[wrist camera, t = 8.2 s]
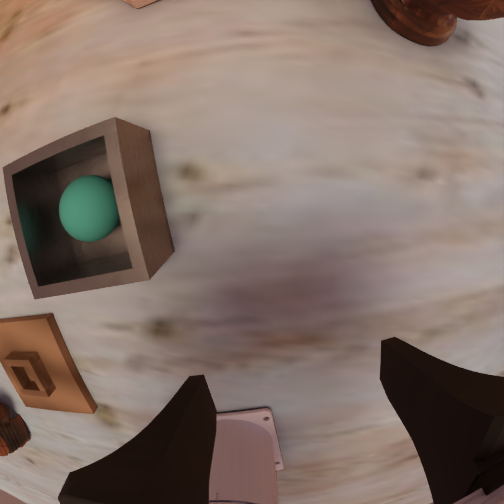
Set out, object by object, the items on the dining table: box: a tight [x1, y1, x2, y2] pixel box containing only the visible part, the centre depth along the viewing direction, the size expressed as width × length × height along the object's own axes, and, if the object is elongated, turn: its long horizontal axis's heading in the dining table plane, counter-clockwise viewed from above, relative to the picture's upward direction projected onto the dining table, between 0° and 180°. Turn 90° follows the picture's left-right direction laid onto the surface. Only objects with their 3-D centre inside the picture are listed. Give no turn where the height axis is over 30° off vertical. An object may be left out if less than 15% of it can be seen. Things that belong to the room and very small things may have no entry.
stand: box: [0, 313, 97, 414], centre depth 21 cm, size 10×10×2 cm
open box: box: [3, 117, 175, 299], centre depth 16 cm, size 8×8×6 cm
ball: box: [59, 175, 120, 242], centre depth 16 cm, size 4×4×4 cm
